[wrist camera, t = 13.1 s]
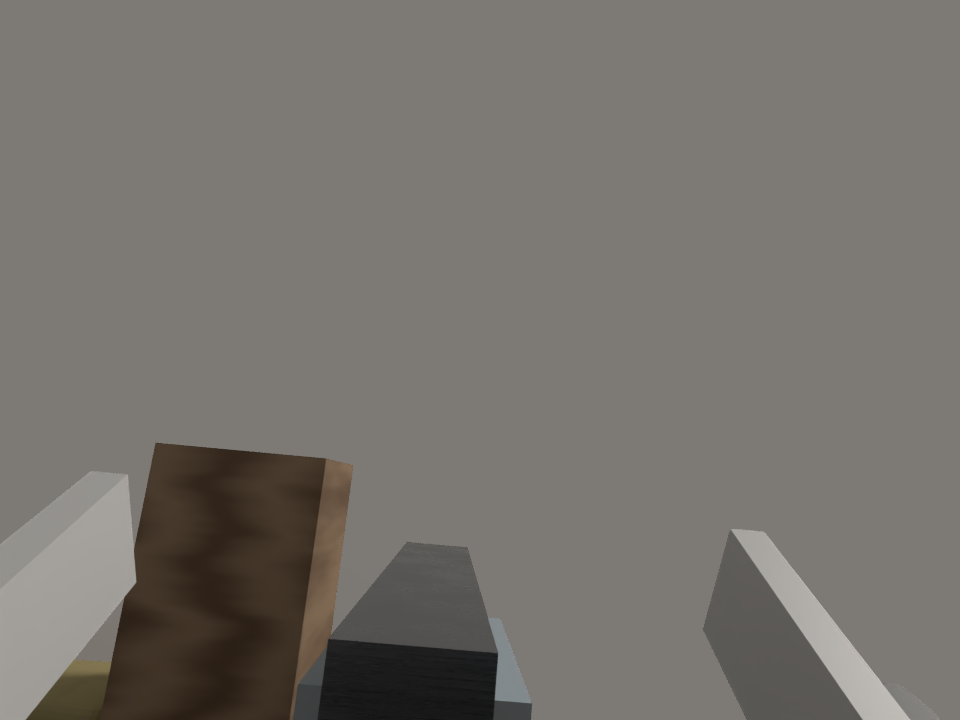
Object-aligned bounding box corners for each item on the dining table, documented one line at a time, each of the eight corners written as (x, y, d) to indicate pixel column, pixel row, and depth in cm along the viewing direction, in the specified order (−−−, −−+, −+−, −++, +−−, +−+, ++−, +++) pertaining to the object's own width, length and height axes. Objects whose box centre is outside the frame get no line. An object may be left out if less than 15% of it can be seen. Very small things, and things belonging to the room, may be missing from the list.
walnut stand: (12, 1075, 29) (142, 441, 35) (131, 916, 40) (215, 452, 46) (245, 1090, 29) (333, 459, 35) (301, 928, 40) (360, 466, 46)
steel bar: (302, 833, 12) (328, 638, 13) (400, 606, 35) (406, 542, 36) (483, 847, 12) (498, 653, 13) (461, 611, 36) (467, 547, 36)
